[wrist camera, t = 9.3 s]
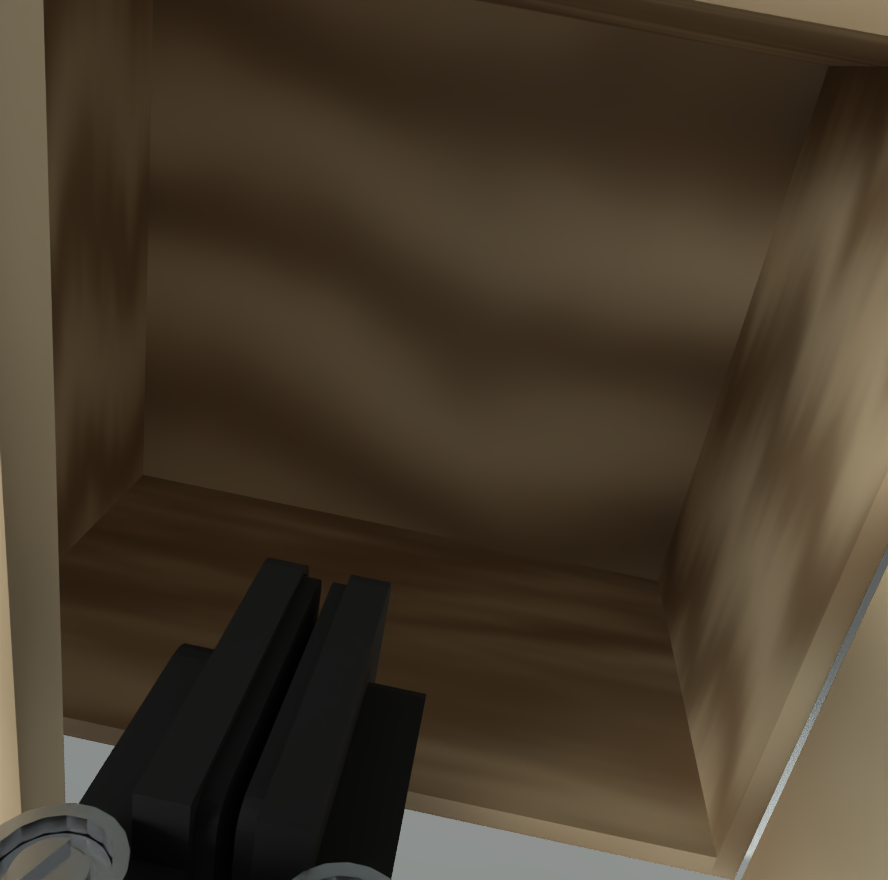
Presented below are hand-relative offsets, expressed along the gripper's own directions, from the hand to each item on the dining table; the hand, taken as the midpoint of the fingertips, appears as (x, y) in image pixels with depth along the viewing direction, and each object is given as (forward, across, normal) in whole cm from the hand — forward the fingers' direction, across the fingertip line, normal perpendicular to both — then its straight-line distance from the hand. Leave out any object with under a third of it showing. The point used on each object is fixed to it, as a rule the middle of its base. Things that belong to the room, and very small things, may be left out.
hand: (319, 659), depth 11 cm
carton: (+19, +1, 0) cm, 19 cm away
